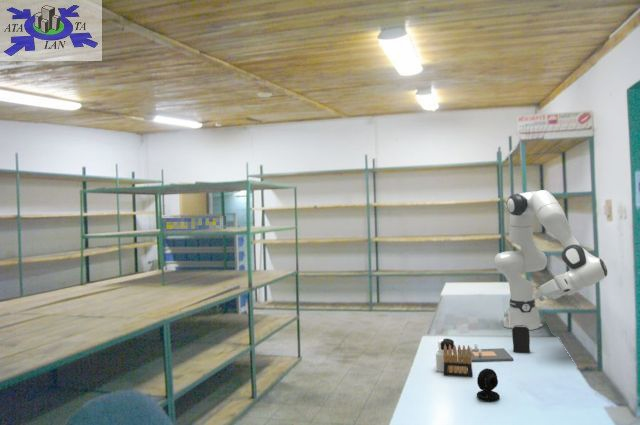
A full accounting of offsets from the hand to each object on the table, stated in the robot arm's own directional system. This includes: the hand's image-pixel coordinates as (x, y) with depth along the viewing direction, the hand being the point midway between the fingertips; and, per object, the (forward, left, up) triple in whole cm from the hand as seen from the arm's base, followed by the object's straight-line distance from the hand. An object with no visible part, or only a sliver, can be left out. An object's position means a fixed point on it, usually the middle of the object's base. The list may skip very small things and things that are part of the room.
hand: (536, 298), depth 216 cm
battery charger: (-2, -6, -23) cm, 24 cm away
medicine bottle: (+18, -41, -23) cm, 51 cm away
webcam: (+47, -32, -23) cm, 62 cm away
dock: (+3, -23, -23) cm, 33 cm away
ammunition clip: (+25, -38, -23) cm, 52 cm away
